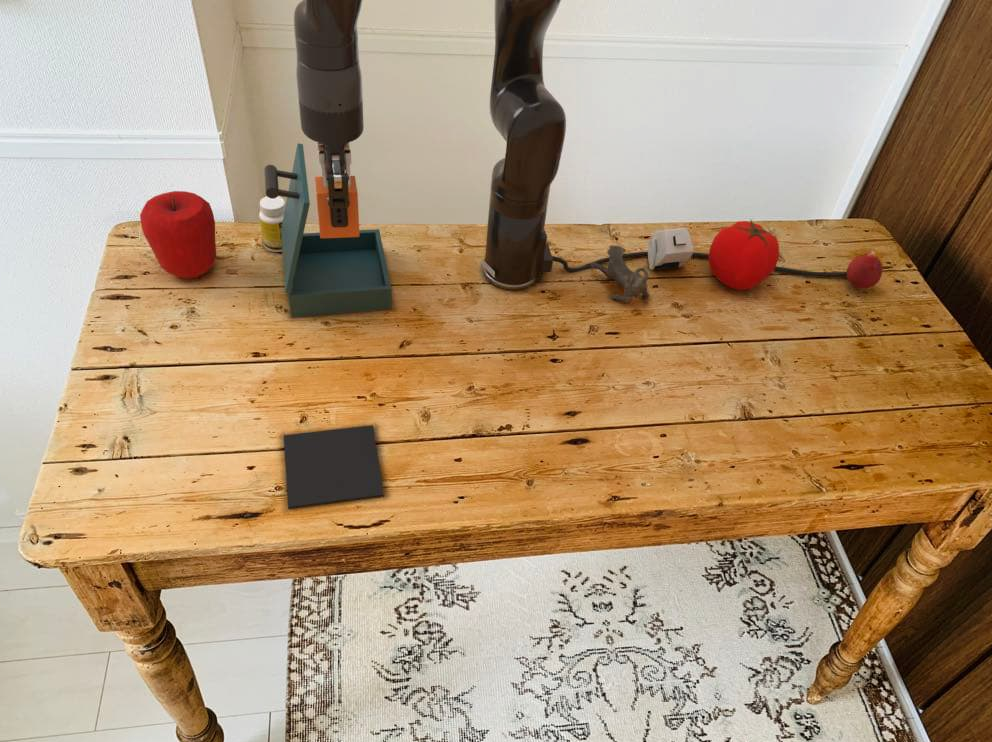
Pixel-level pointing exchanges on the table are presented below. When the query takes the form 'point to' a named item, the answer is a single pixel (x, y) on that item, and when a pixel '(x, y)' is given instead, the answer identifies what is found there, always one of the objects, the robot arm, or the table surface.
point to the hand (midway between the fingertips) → (338, 214)
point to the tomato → (743, 255)
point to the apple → (180, 232)
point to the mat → (331, 466)
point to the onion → (864, 271)
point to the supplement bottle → (272, 222)
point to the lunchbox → (340, 275)
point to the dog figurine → (624, 275)
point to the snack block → (324, 212)
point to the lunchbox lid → (291, 211)
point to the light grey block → (669, 248)
